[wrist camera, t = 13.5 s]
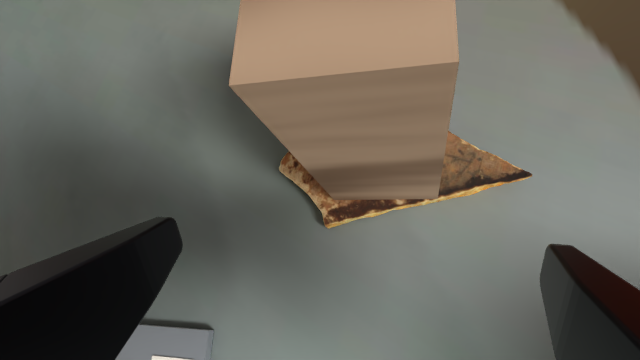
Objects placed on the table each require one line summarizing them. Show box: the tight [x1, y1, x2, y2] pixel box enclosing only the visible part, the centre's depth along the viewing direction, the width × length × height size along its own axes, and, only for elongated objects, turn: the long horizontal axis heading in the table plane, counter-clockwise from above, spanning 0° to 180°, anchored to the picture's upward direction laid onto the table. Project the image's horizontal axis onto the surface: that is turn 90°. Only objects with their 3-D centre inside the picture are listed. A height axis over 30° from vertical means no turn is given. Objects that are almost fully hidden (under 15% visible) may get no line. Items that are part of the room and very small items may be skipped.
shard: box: [279, 131, 532, 228], centre depth 19 cm, size 11×8×2 cm
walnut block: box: [229, 0, 459, 200], centre depth 14 cm, size 5×5×11 cm
